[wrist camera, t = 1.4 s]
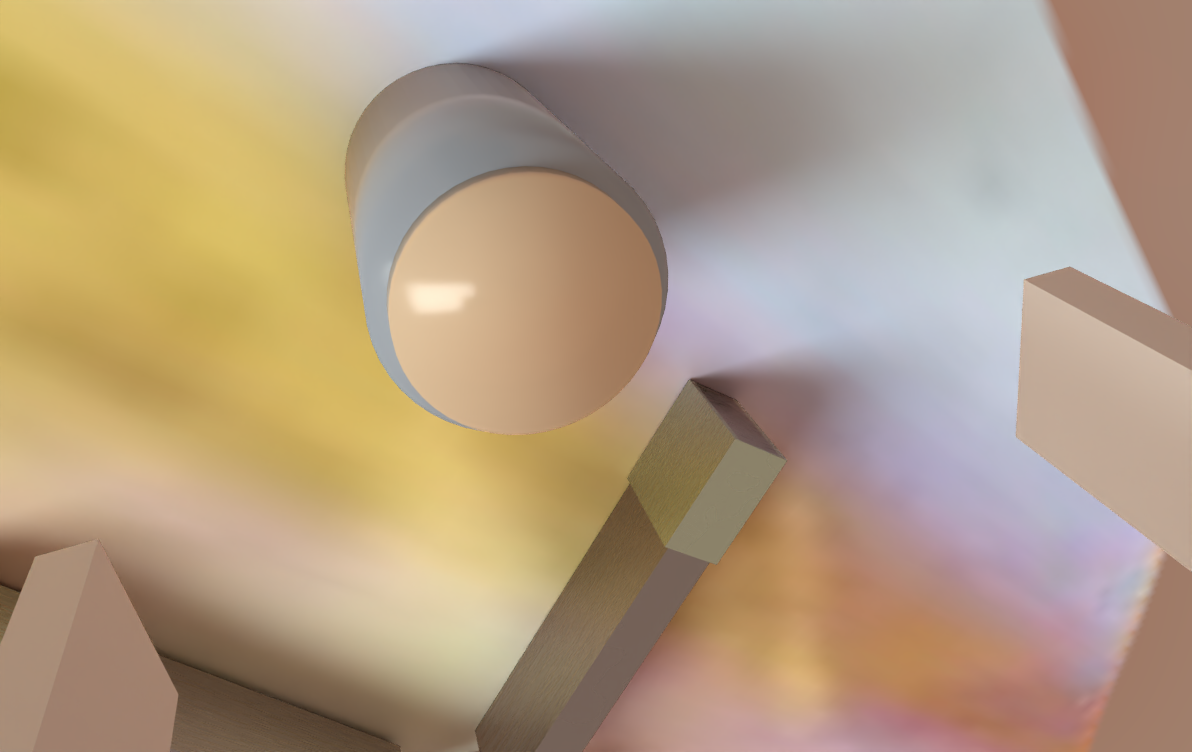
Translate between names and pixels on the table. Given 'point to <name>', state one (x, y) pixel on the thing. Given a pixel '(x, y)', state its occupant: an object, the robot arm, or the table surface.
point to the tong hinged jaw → (239, 714)
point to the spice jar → (498, 254)
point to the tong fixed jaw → (635, 574)
